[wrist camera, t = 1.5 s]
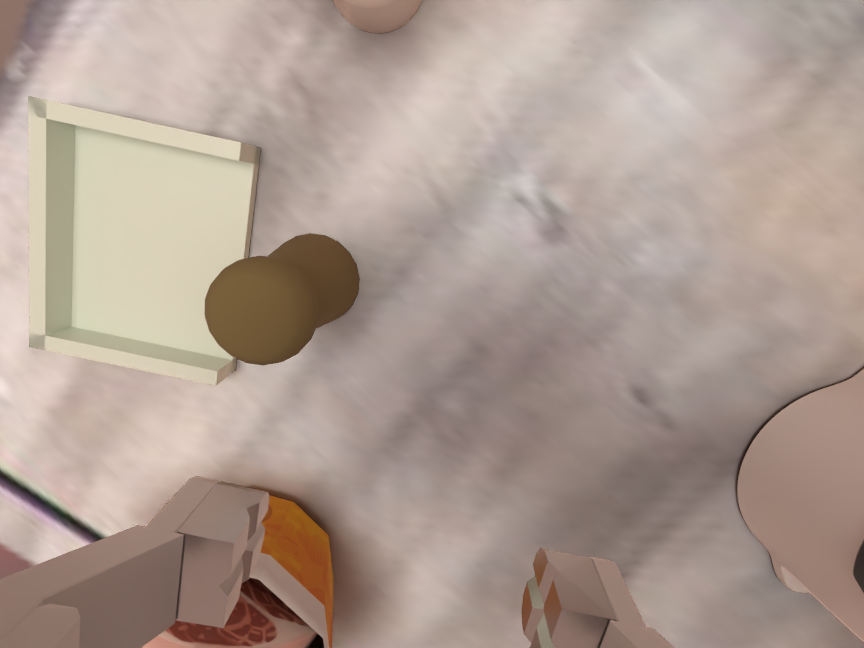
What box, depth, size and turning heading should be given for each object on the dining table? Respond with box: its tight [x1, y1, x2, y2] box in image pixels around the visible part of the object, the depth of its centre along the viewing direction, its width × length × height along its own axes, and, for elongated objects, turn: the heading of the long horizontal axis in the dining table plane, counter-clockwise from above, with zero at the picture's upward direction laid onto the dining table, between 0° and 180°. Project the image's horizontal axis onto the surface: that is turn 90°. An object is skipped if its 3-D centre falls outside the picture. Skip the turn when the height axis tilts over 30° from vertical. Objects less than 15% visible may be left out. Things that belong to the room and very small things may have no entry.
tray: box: [28, 96, 261, 386], centre depth 30 cm, size 12×15×3 cm
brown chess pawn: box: [205, 234, 360, 365], centre depth 27 cm, size 6×6×11 cm
